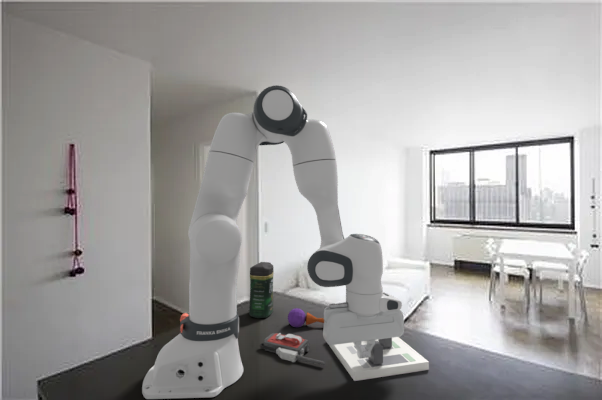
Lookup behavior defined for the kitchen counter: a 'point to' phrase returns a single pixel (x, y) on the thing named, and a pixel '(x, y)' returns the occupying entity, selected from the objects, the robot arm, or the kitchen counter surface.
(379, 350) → the block
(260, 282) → the coffee jar
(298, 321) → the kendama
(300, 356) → the walkie-talkie
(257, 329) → the kitchen counter surface
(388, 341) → the block
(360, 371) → the breaker panel
